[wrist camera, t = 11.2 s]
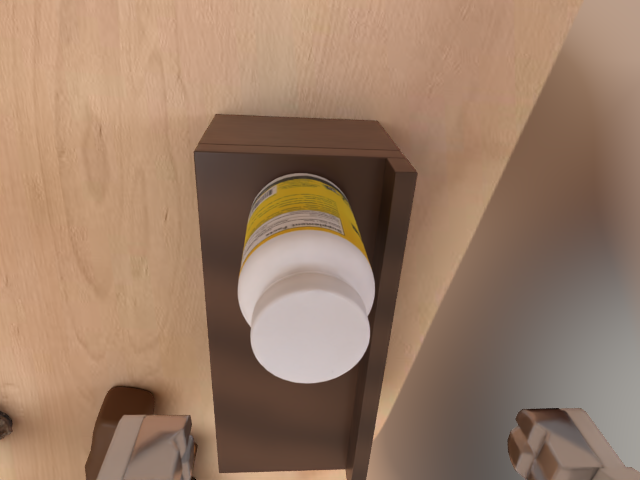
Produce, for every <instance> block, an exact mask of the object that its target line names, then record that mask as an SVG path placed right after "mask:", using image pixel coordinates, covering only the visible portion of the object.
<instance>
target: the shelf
mask: <svg viewBox="0 0 640 480" xmlns="http://www.w3.org/2000/svg"><path fill="white" fill-rule="evenodd" d="M194 162H195V174H196V187H197V200H198V212H199V225H200V237H201V250H202V263H203V275H204V288H205V301H206V313H207V326H208V338H209V351H210V364H211V376H212V389H213V402H214V414H215V427H216V439H217V452H218V465H219V473H239V472H271V471H304V470H337V469H346V477H347V480H366V477H367V470H368V464H369V459H370V453H371V447H372V441H373V435H374V429H375V423H376V417H377V411H378V405H379V399H380V393H381V387H382V381H383V375H384V369H385V363H386V357H387V351H388V346H389V340H390V334H391V328H392V322H393V316H394V310H395V304H396V298H397V292H398V286H399V280H400V274H401V268H402V262H403V256H404V250H405V244H406V238H407V232H408V226H409V220H410V214H411V209H412V203H413V197H414V191H415V185H416V179H417V172H416V170H415V169H414V168H413V166H412V165H411V164H410V162H409V161H408V160H407V159H406V158H405V156H404V155H403V154H402V152H401V151H400V149H399V148H398V147H397V145H396V144H395V143H394V142H393V140H392V139H391V138H390V136H389V135H388V134H387V133H386V131H385V130H384V129H383V127H382V126H381V125H380V123H379V122H378V121H368V120H343V119H318V118H294V117H269V116H244V115H220V114H216V115H215V116H214V118H213V120H212V121H211V123H210V125H209V126H208V128H207V130H206V131H205V133H204V135H203V137H202V138H201V140H200V142H199V143H198V146H197V147H196V149H195V151H194ZM294 173H307V174H313V175H317V176H320V177H322V178H325V179H327V180H329V181H330V182H332V183H333V184H335V185H336V186H337V187H338V188H339V189H340V190H341V191H342V192H343V194H344V195H345V197H346V198H347V200H348V202H349V204H350V207H351V209H352V212H353V215H354V218H355V221H356V224H357V227H358V230H359V233H360V236H361V239H362V242H363V245H364V248H365V251H366V254H367V257H368V260H369V263H370V266H371V268H372V272H373V276H374V282H375V296H374V301H373V305H372V308H371V310H370V313H369V315H368V316H367V317H368V321H369V325H370V339H369V344H368V347H367V349H366V351H365V353H364V355H363V357H362V358H361V359H360V361H359V362H358V363H357V364H356V365H355V366H354V367H353V368H351V369H350V370H349V371H347V372H346V373H344V374H342V375H341V376H339V377H337V378H334V379H331V380H328V381H324V382H318V383H296V382H291V381H287V380H284V379H282V378H279V377H277V376H275V375H273V374H272V373H270V372H269V371H267V370H266V369H265V368H264V367H263V366H262V365H261V364H260V363H259V361H258V360H257V358H256V357H255V355H254V352H253V350H252V346H251V338H250V334H251V327H250V325H249V324H248V323H247V321H246V319H245V318H244V316H243V314H242V311H241V309H240V305H239V301H238V281H239V274H240V268H241V261H242V255H243V249H244V243H245V236H246V230H247V223H248V218H249V213H250V210H251V206H252V204H253V202H254V200H255V198H256V196H257V195H258V194H259V192H260V191H261V190H262V189H263V188H264V187H265V186H266V185H267V184H269V183H270V182H272V181H273V180H275V179H277V178H279V177H282V176H285V175H289V174H294Z"/></svg>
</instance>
